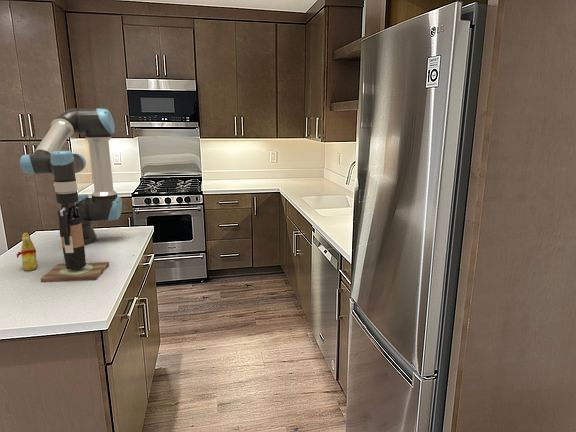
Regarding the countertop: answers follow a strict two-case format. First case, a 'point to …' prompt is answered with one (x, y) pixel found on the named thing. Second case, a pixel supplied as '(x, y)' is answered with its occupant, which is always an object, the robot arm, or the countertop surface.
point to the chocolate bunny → (28, 253)
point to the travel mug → (75, 246)
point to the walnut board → (75, 272)
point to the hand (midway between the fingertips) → (73, 249)
